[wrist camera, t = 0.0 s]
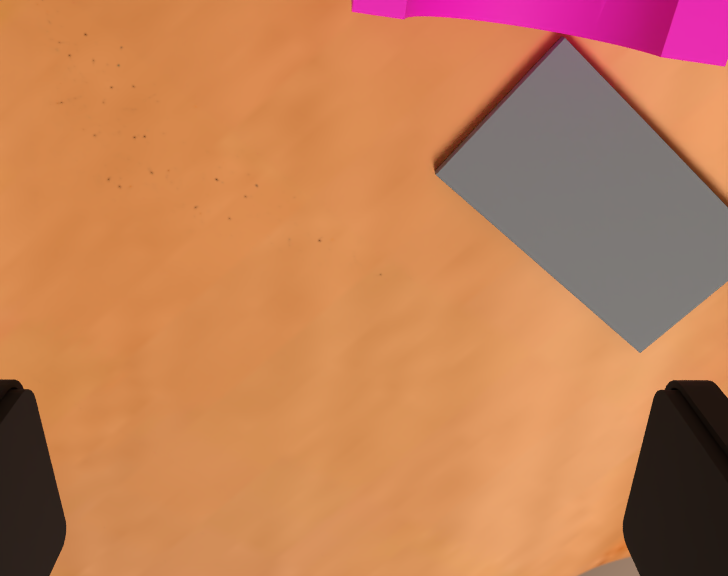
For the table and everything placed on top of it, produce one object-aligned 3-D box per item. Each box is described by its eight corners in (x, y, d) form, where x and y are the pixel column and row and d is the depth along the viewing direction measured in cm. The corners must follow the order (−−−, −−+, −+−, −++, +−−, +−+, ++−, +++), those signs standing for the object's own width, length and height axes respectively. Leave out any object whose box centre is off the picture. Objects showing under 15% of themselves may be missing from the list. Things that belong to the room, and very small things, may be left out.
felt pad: (434, 171, 37) (435, 174, 36) (561, 36, 34) (565, 37, 33) (636, 347, 42) (639, 353, 42) (761, 244, 39) (767, 248, 39)
